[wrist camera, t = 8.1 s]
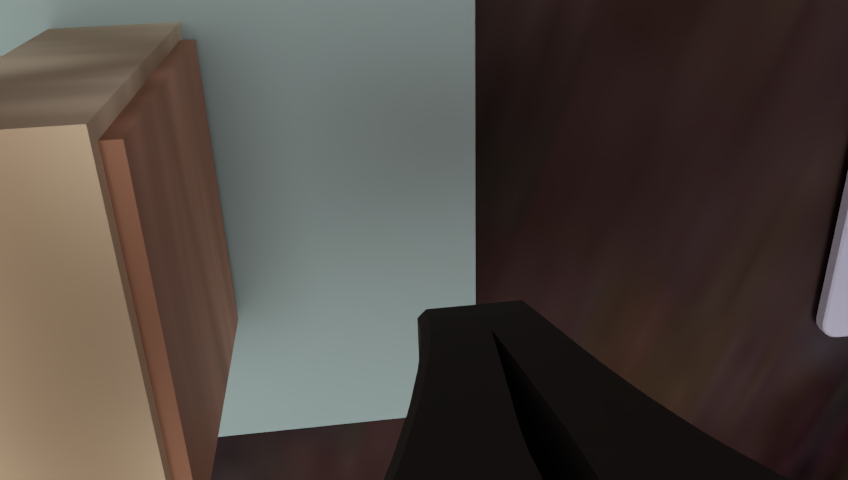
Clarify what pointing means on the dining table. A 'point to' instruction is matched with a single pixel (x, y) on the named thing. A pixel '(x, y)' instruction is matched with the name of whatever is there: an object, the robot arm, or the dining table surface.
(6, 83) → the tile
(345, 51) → the mat
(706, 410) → the dining table surface
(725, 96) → the dining table surface
